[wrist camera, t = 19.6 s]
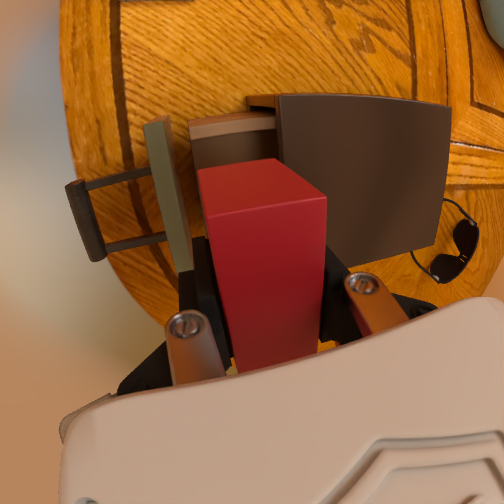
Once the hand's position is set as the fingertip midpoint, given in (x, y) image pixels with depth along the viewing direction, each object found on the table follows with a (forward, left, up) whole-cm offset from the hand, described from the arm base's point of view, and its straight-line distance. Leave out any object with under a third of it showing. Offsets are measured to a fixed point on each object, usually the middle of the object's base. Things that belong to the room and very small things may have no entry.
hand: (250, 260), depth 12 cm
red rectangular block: (0, 0, -1) cm, 1 cm away
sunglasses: (+28, -11, -14) cm, 33 cm away
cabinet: (+11, 0, -14) cm, 18 cm away
